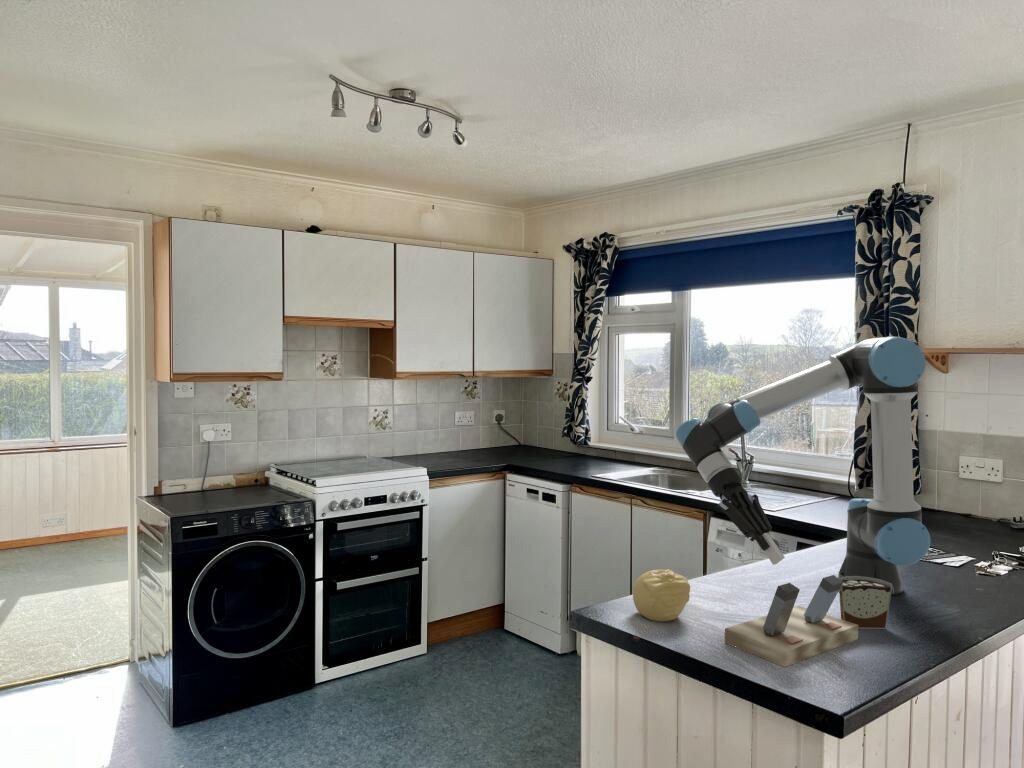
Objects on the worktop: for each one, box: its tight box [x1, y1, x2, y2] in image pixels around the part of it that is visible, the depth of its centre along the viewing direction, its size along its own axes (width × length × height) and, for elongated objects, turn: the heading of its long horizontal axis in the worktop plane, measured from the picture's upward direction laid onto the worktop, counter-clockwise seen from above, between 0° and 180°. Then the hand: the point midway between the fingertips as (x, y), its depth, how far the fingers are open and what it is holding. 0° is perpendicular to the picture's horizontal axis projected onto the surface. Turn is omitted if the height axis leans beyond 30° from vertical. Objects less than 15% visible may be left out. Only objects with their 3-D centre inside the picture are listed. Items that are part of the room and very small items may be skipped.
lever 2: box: [804, 574, 843, 623], centre depth 154 cm, size 4×2×11 cm, turn 126°
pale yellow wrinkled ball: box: [632, 568, 691, 622], centre depth 165 cm, size 12×12×11 cm
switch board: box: [724, 605, 859, 668], centre depth 152 cm, size 26×14×3 cm, turn 126°
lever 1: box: [763, 582, 800, 636], centre depth 147 cm, size 4×2×11 cm, turn 126°
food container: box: [838, 576, 894, 630], centre depth 163 cm, size 12×6×10 cm, turn 92°
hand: (778, 561), depth 163 cm, fingers closed
